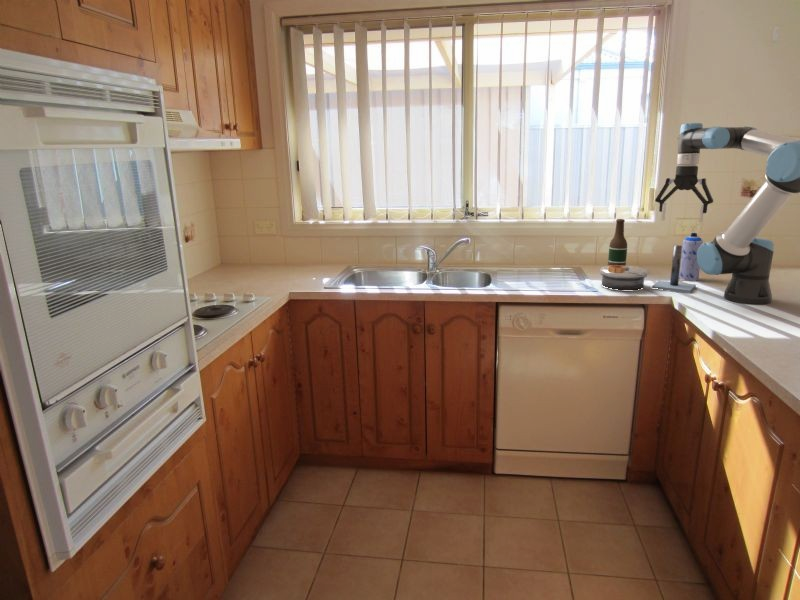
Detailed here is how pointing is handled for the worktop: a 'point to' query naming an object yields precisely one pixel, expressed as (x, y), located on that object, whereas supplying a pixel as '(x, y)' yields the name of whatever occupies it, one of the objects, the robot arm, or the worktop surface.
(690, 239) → the aerosol can
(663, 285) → the plate
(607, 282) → the cylinder
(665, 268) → the worktop surface
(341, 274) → the worktop surface
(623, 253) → the beer bottle
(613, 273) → the disc
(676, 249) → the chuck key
